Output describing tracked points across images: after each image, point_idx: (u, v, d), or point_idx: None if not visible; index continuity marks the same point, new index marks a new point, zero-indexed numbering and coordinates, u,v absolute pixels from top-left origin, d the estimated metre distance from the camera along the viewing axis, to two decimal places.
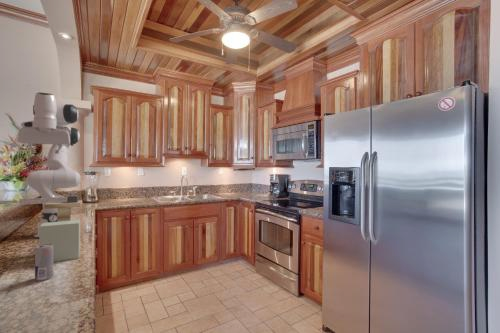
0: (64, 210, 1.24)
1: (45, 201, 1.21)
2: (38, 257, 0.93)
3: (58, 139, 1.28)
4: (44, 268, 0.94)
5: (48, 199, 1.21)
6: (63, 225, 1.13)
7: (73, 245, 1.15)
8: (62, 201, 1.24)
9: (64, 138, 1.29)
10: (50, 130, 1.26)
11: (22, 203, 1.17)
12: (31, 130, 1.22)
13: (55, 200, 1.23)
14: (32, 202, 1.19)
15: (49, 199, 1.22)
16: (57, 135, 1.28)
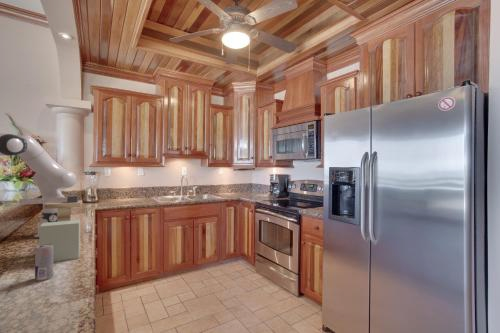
0: (64, 210, 1.24)
1: (45, 201, 1.21)
2: (38, 257, 0.93)
3: None
4: (44, 268, 0.94)
5: (48, 199, 1.21)
6: (63, 225, 1.13)
7: (73, 245, 1.15)
8: (62, 201, 1.24)
9: None
10: None
11: (22, 203, 1.17)
12: None
13: (55, 200, 1.23)
14: (32, 202, 1.19)
15: (49, 199, 1.22)
16: None
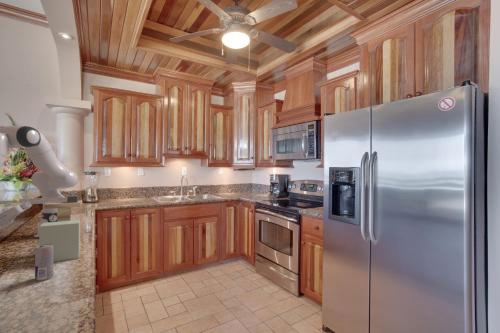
0: (64, 210, 1.24)
1: (45, 201, 1.21)
2: (38, 257, 0.93)
3: None
4: (44, 268, 0.94)
5: (48, 199, 1.21)
6: (63, 225, 1.13)
7: (73, 245, 1.15)
8: (62, 201, 1.24)
9: (15, 215, 1.10)
10: (9, 218, 1.14)
11: (22, 203, 1.17)
12: (16, 215, 1.20)
13: (55, 200, 1.23)
14: None
15: (49, 199, 1.22)
16: None
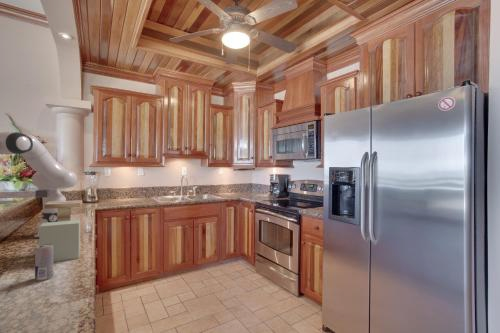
0: (64, 210, 1.24)
1: (10, 195, 1.07)
2: (38, 257, 0.93)
3: None
4: (44, 268, 0.94)
5: (13, 193, 1.07)
6: (63, 225, 1.13)
7: (73, 245, 1.15)
8: (30, 196, 1.10)
9: None
10: None
11: None
12: None
13: (22, 194, 1.09)
14: None
15: (14, 193, 1.08)
16: None
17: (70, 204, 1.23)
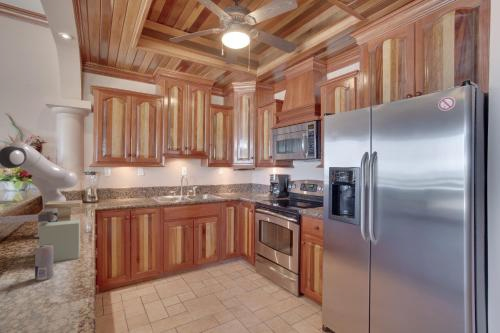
0: (64, 210, 1.24)
1: (13, 220, 1.07)
2: (38, 257, 0.93)
3: None
4: (44, 268, 0.94)
5: (16, 218, 1.07)
6: (63, 225, 1.13)
7: (73, 245, 1.15)
8: (33, 219, 1.10)
9: None
10: None
11: None
12: None
13: (24, 219, 1.09)
14: None
15: (17, 218, 1.08)
16: None
17: (70, 204, 1.23)
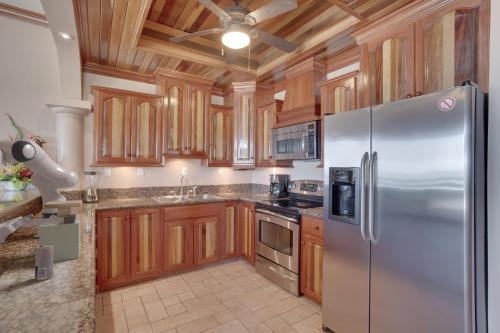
0: (64, 210, 1.24)
1: (40, 223, 1.11)
2: (38, 257, 0.93)
3: None
4: (44, 268, 0.94)
5: (43, 220, 1.12)
6: (63, 225, 1.13)
7: (73, 245, 1.15)
8: (58, 222, 1.15)
9: None
10: (1, 238, 1.04)
11: None
12: None
13: (51, 221, 1.13)
14: (25, 224, 1.09)
15: (44, 220, 1.12)
16: None
17: (70, 204, 1.23)
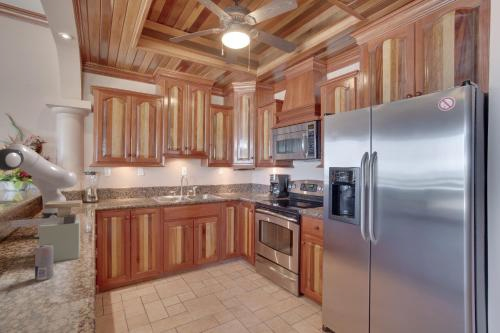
0: (64, 210, 1.24)
1: (40, 223, 1.11)
2: (38, 257, 0.93)
3: None
4: (44, 268, 0.94)
5: (43, 220, 1.12)
6: (63, 225, 1.13)
7: (73, 245, 1.15)
8: (58, 222, 1.15)
9: None
10: None
11: (14, 226, 1.07)
12: None
13: (51, 221, 1.13)
14: (25, 224, 1.09)
15: (44, 220, 1.12)
16: None
17: (70, 204, 1.23)
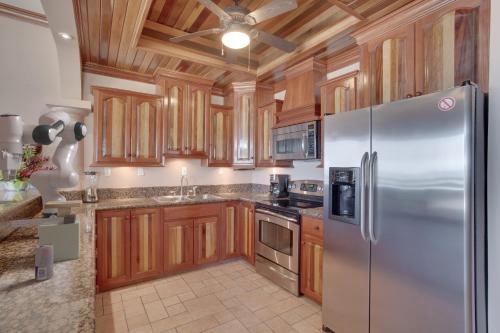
0: (64, 210, 1.24)
1: (40, 223, 1.11)
2: (38, 257, 0.93)
3: None
4: (44, 268, 0.94)
5: (43, 220, 1.12)
6: (63, 225, 1.13)
7: (73, 245, 1.15)
8: (58, 222, 1.15)
9: None
10: None
11: (14, 226, 1.07)
12: None
13: (51, 221, 1.13)
14: (25, 224, 1.09)
15: (44, 220, 1.12)
16: None
17: (70, 204, 1.23)
